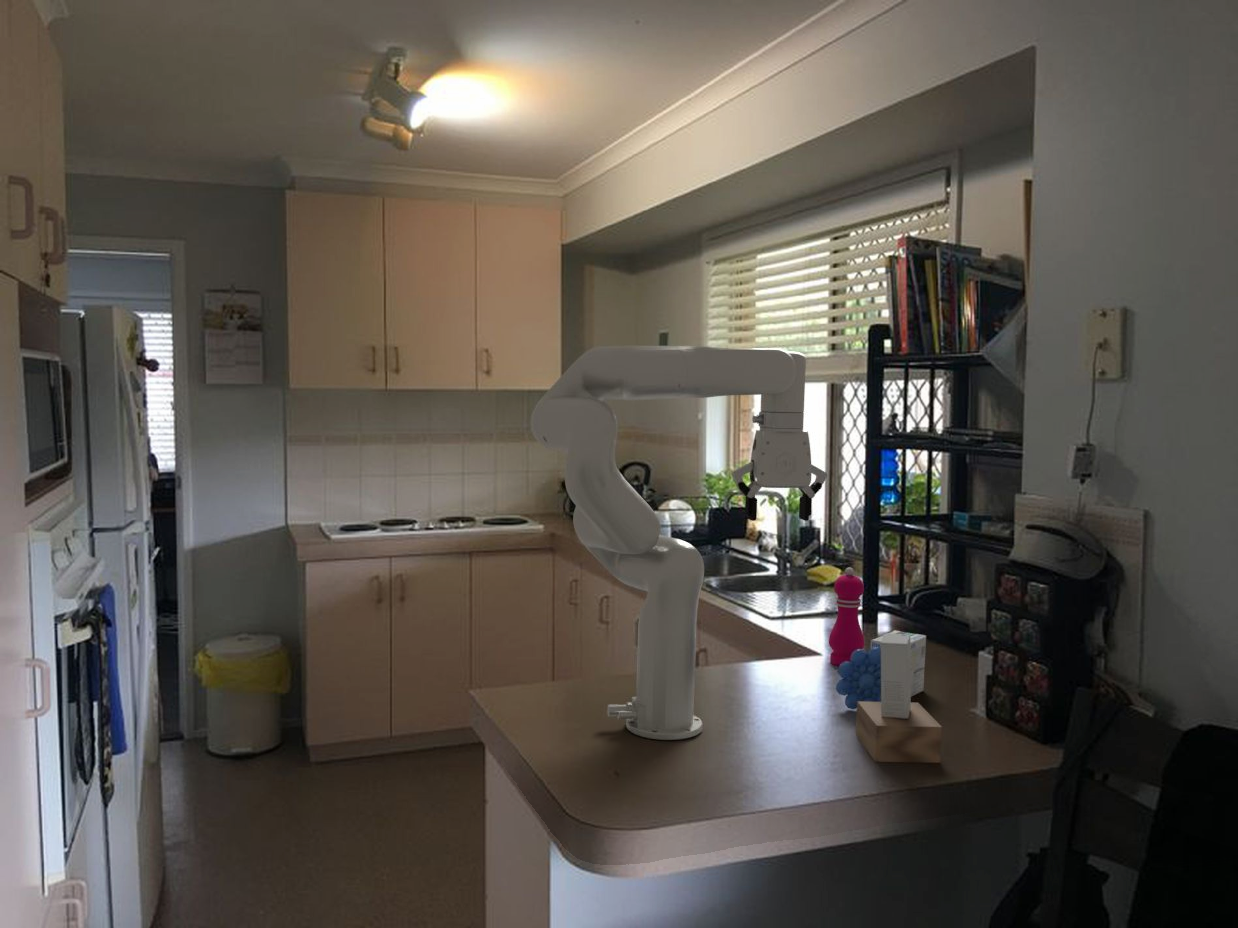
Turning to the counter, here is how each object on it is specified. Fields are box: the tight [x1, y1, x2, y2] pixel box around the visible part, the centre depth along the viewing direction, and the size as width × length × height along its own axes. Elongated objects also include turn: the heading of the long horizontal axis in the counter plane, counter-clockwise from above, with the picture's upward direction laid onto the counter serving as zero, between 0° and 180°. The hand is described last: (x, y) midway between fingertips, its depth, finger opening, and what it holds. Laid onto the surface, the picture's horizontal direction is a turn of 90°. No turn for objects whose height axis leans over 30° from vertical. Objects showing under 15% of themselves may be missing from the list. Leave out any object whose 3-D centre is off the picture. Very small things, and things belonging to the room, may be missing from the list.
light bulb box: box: [869, 630, 927, 698], centre depth 194 cm, size 11×7×11 cm, turn 141°
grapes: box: [835, 647, 881, 710], centre depth 182 cm, size 12×7×12 cm, turn 59°
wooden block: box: [855, 701, 943, 764], centre depth 165 cm, size 10×12×6 cm
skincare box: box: [881, 632, 912, 719], centre depth 164 cm, size 6×4×12 cm
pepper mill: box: [828, 567, 865, 667], centre depth 214 cm, size 7×7×20 cm
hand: (777, 519), depth 183 cm, fingers open, 9 cm apart
